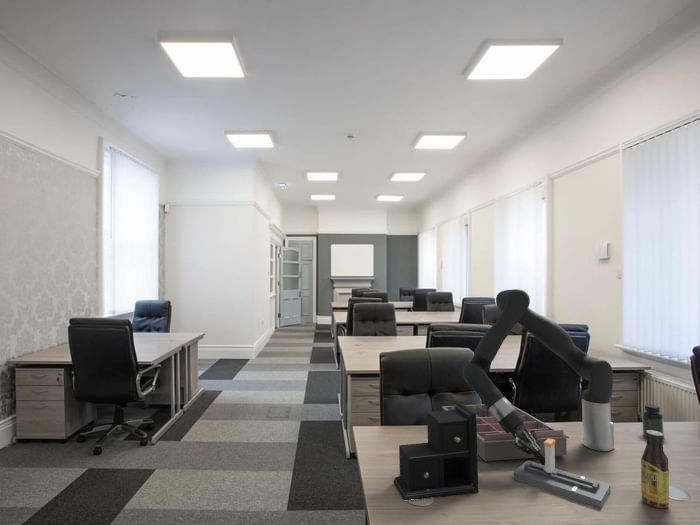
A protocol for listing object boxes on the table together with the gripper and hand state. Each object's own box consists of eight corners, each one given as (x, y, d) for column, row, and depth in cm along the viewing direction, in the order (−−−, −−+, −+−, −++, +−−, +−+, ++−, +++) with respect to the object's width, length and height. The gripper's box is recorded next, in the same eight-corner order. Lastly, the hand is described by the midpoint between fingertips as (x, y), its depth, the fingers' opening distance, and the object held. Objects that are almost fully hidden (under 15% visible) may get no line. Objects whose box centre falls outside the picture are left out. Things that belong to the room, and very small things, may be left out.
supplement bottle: (668, 438, 158) (667, 408, 159) (654, 440, 156) (653, 409, 157) (652, 432, 165) (650, 403, 165) (638, 434, 163) (637, 404, 164)
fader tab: (542, 474, 124) (541, 441, 124) (546, 470, 127) (545, 437, 128) (554, 478, 121) (553, 444, 122) (558, 473, 125) (557, 440, 125)
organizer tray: (509, 421, 179) (509, 398, 180) (570, 460, 140) (569, 431, 140) (441, 424, 175) (441, 401, 175) (484, 466, 135) (483, 436, 136)
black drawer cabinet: (404, 502, 113) (403, 418, 114) (392, 483, 124) (392, 406, 125) (479, 493, 117) (478, 412, 119) (462, 476, 128) (461, 402, 129)
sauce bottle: (636, 498, 115) (633, 427, 116) (656, 497, 115) (653, 427, 116) (655, 511, 108) (652, 436, 109) (676, 509, 109) (673, 435, 110)
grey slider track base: (513, 478, 126) (513, 467, 126) (527, 466, 135) (527, 455, 135) (601, 508, 110) (600, 495, 110) (610, 491, 118) (610, 479, 118)
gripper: (505, 413, 128) (547, 464, 119) (521, 404, 137) (561, 450, 128) (490, 426, 131) (529, 476, 122) (506, 416, 141) (544, 462, 132)
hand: (545, 463), depth 125 cm, fingers closed
